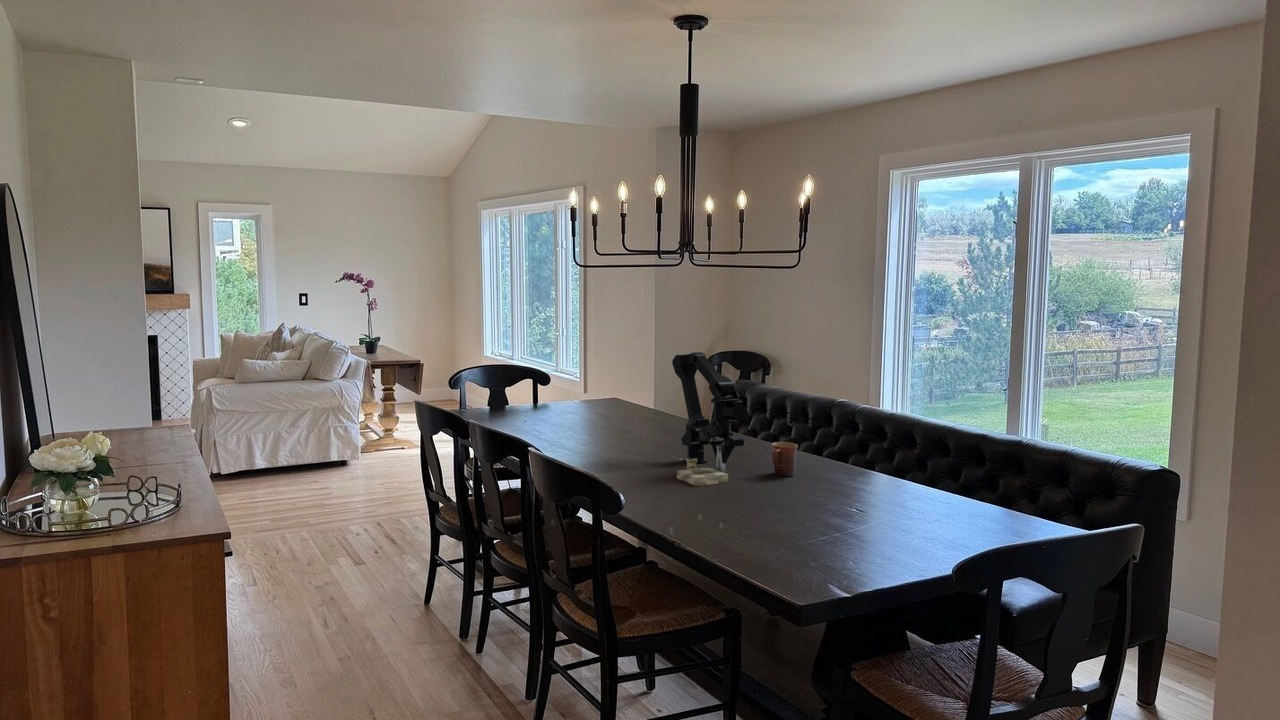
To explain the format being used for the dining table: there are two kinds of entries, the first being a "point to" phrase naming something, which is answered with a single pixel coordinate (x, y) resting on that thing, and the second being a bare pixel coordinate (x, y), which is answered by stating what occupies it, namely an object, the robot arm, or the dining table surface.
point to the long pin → (719, 460)
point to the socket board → (702, 476)
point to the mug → (784, 458)
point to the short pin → (691, 463)
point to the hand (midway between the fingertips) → (721, 462)
